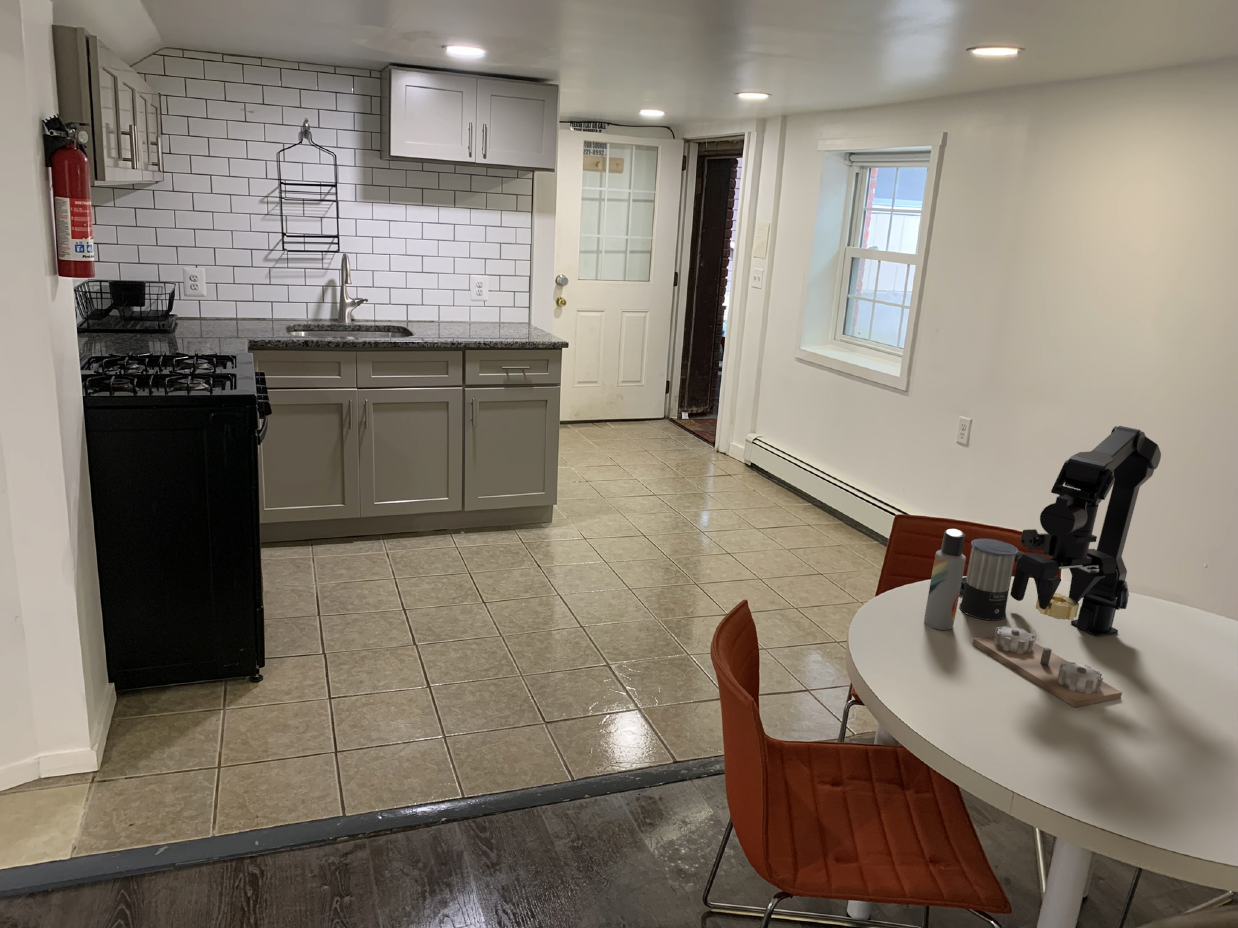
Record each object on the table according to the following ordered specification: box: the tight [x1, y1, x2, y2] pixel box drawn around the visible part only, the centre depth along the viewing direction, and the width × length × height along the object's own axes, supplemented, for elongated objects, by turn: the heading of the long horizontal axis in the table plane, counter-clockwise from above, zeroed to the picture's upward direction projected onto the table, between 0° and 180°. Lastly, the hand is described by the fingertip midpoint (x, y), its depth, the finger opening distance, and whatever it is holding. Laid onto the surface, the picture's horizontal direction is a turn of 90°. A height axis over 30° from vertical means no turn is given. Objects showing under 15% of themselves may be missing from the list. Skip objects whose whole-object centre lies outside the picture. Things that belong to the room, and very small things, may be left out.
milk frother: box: [959, 538, 1031, 621], centre depth 195 cm, size 14×16×15 cm
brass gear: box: [1035, 592, 1080, 621], centre depth 169 cm, size 7×7×2 cm
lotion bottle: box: [923, 528, 967, 631], centre depth 183 cm, size 6×6×20 cm
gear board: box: [972, 625, 1123, 708], centre depth 169 cm, size 24×11×4 cm, turn 23°
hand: (1056, 607), depth 169 cm, fingers closed on brass gear, 7 cm apart
